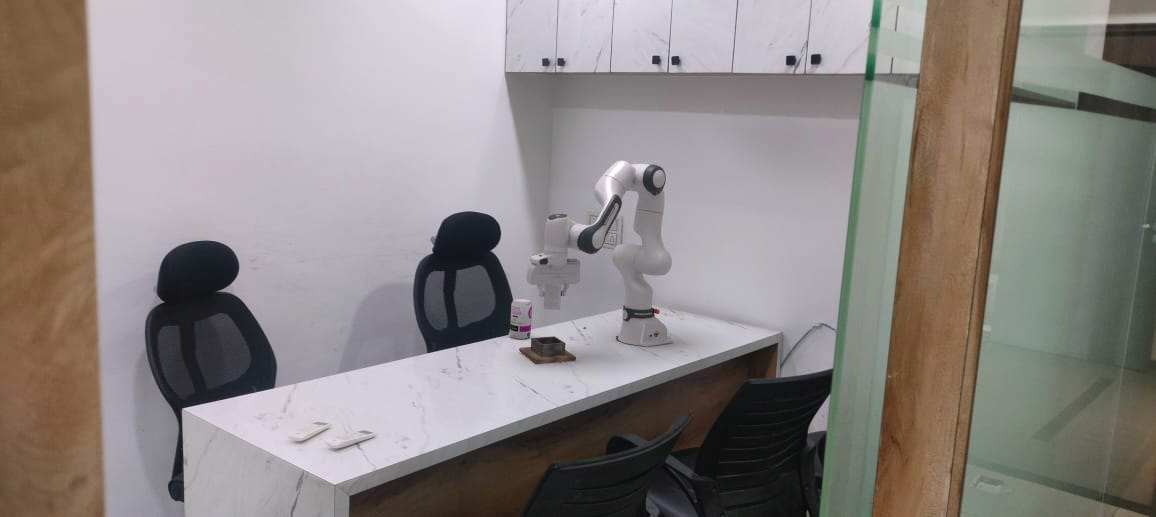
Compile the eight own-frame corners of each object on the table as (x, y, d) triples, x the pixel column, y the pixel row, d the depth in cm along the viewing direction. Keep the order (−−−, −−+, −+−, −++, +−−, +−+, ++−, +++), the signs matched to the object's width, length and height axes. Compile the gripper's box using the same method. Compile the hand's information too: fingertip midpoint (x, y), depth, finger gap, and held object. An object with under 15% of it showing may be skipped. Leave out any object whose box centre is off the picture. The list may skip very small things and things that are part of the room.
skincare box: (559, 308, 292) (562, 276, 290) (559, 310, 288) (562, 278, 286) (543, 306, 292) (545, 274, 290) (543, 309, 288) (545, 277, 286)
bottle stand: (558, 348, 304) (558, 333, 303) (576, 360, 289) (577, 345, 288) (519, 351, 297) (520, 336, 296) (535, 364, 282) (536, 347, 281)
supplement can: (531, 335, 320) (533, 299, 318) (528, 340, 312) (530, 303, 310) (512, 333, 321) (513, 297, 319) (508, 338, 313) (510, 301, 311)
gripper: (576, 257, 294) (574, 293, 297) (526, 257, 285) (523, 294, 287) (584, 260, 289) (581, 297, 291) (532, 260, 280) (530, 298, 282)
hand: (552, 296), depth 289 cm, fingers closed on skincare box, 7 cm apart
